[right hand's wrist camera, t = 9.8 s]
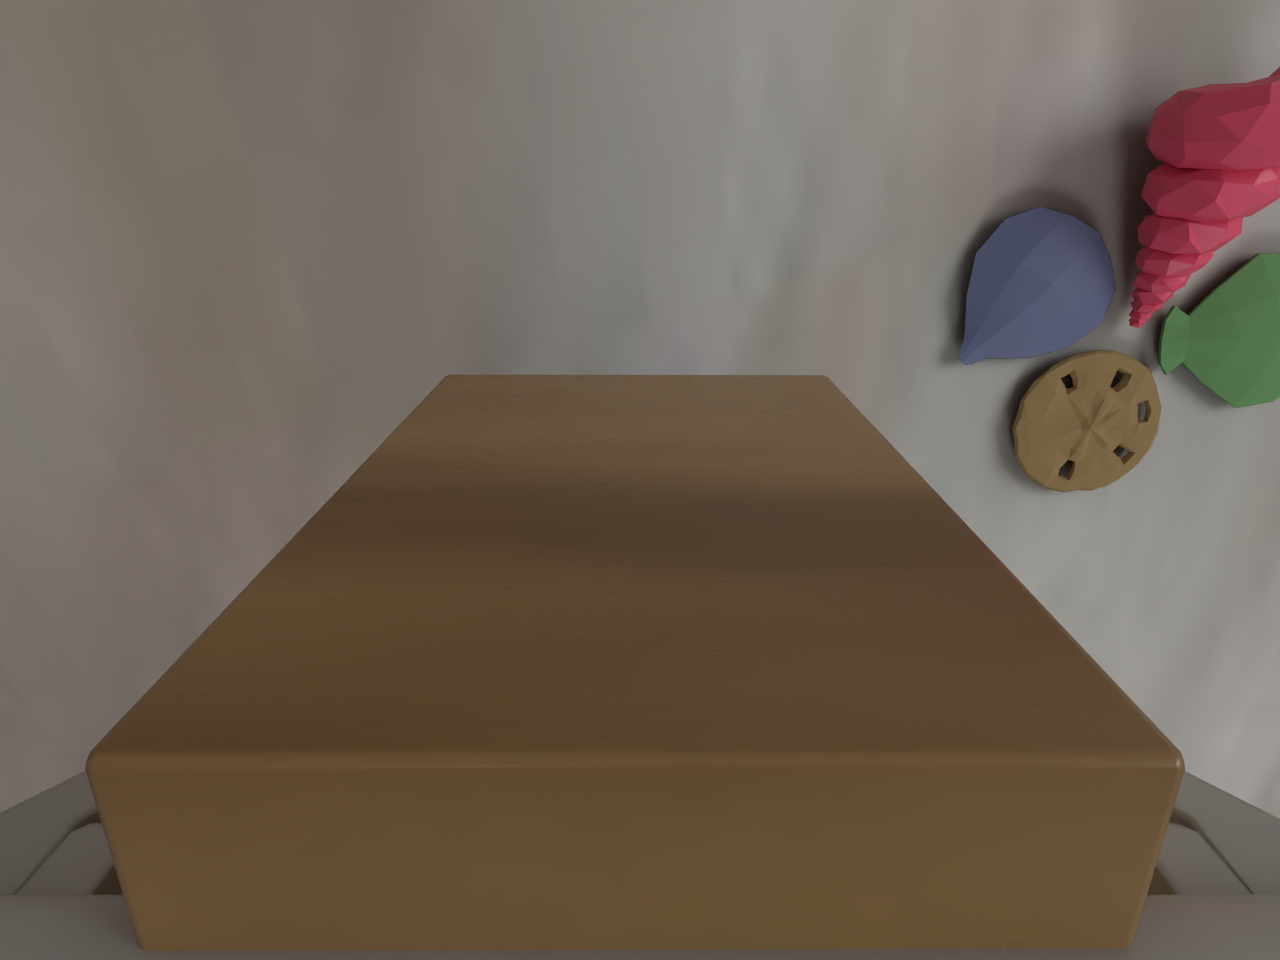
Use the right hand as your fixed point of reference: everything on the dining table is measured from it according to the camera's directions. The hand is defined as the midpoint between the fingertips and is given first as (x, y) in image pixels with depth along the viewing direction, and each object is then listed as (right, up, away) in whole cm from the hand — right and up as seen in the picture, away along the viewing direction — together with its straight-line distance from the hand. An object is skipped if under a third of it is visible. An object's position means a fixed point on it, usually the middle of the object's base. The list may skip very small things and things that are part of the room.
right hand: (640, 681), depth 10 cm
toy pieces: (+15, +8, +14) cm, 23 cm away
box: (0, -8, +7) cm, 11 cm away
